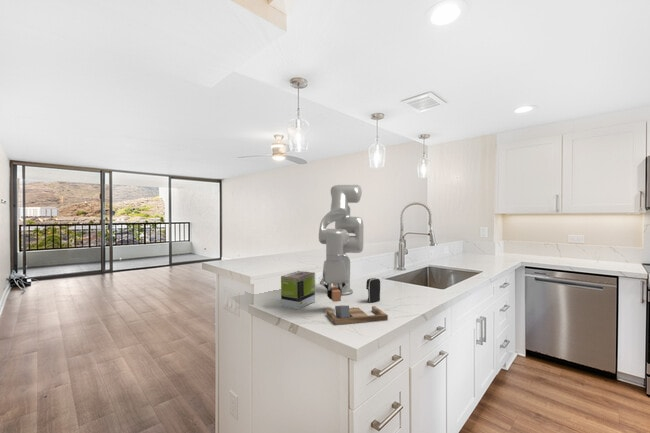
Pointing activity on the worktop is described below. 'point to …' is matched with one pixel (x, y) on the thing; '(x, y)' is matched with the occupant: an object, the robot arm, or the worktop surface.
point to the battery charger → (373, 289)
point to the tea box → (297, 289)
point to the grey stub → (342, 311)
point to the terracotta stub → (335, 294)
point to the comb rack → (358, 316)
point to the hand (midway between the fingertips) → (334, 297)
